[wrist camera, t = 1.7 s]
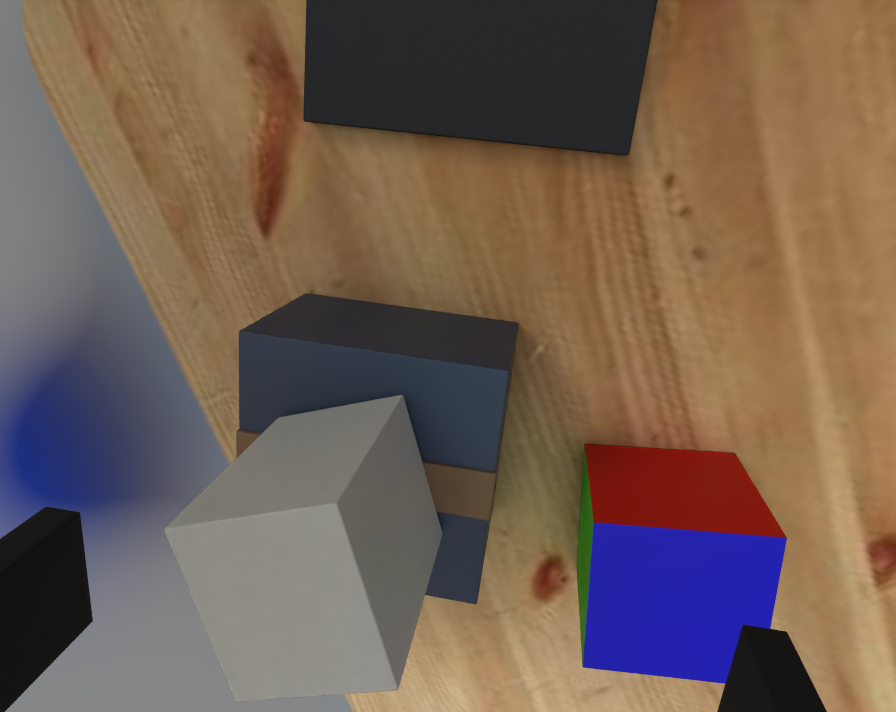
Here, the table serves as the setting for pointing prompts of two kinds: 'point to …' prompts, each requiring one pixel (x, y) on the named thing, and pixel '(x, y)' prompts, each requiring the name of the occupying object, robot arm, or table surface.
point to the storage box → (391, 374)
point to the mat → (481, 68)
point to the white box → (314, 553)
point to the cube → (672, 560)
